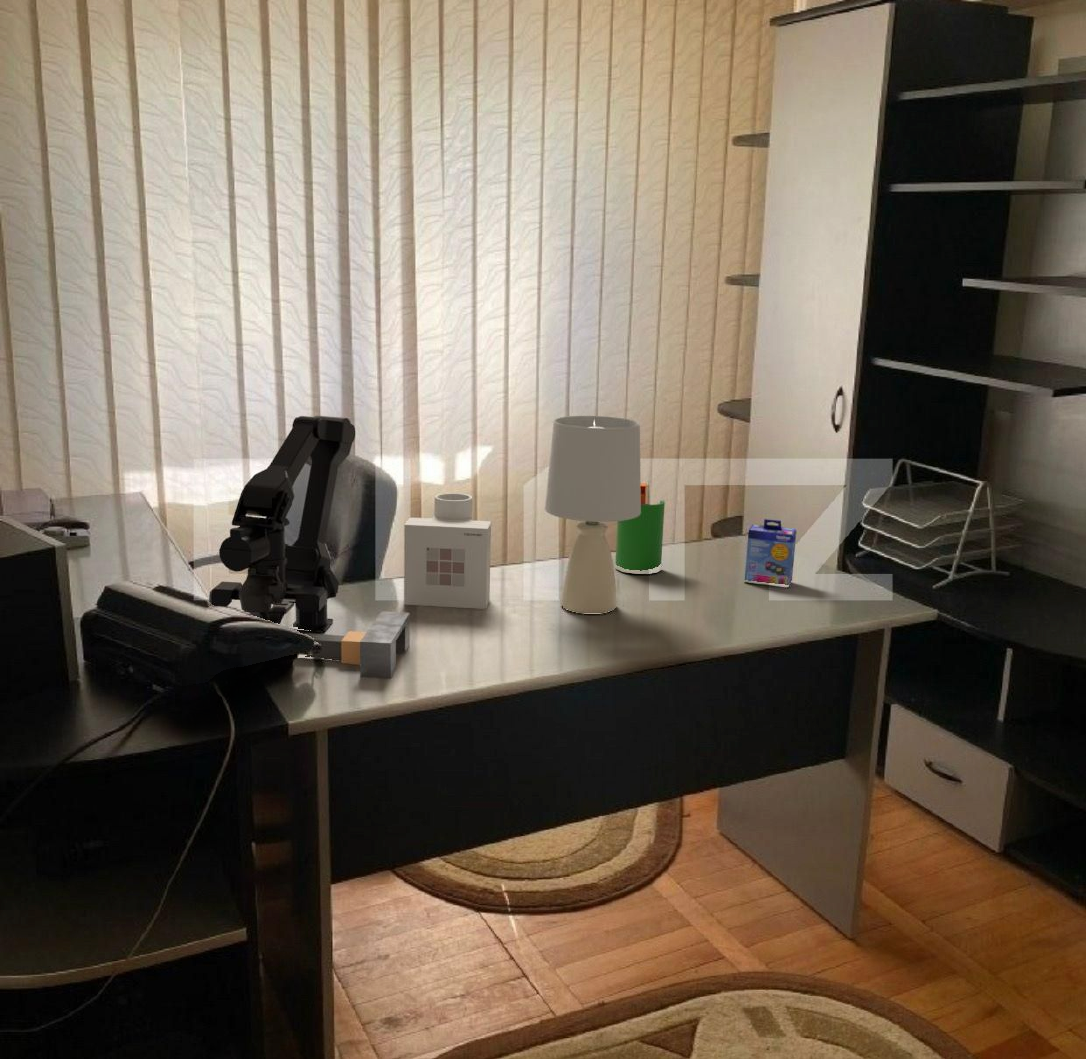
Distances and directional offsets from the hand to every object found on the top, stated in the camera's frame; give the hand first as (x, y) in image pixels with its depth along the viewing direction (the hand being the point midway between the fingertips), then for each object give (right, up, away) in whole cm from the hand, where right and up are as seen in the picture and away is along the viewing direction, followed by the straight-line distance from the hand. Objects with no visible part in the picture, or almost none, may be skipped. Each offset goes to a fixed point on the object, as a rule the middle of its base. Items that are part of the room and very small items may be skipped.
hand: (270, 644), depth 192 cm
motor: (+68, +10, +59) cm, 90 cm away
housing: (+20, -3, -1) cm, 20 cm away
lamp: (+55, +4, +32) cm, 64 cm away
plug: (+11, -2, 0) cm, 11 cm away
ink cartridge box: (+95, +8, +52) cm, 109 cm away
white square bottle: (+28, +6, +38) cm, 47 cm away
